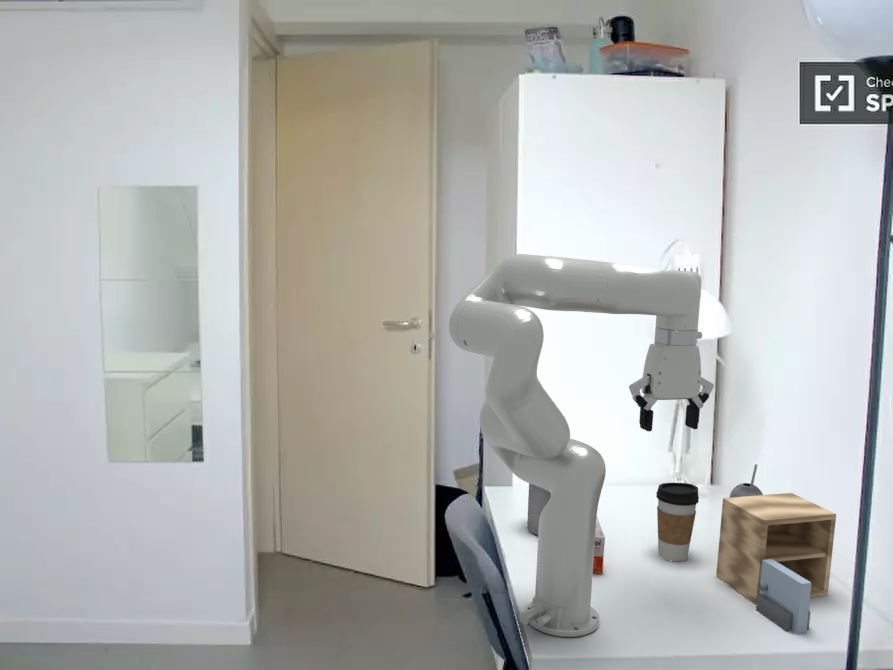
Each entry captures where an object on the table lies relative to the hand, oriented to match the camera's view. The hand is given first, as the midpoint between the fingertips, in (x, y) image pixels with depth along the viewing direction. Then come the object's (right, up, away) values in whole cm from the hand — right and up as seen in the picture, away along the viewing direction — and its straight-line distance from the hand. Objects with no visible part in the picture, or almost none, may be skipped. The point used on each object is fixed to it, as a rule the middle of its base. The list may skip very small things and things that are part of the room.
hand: (668, 428), depth 153 cm
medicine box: (-15, -29, +14) cm, 35 cm away
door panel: (+17, -33, -9) cm, 38 cm away
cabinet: (+21, -31, +4) cm, 37 cm away
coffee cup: (+5, -29, +17) cm, 34 cm away
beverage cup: (+20, -29, +18) cm, 40 cm away
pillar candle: (-19, -26, +29) cm, 43 cm away
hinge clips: (+18, -33, -9) cm, 38 cm away
